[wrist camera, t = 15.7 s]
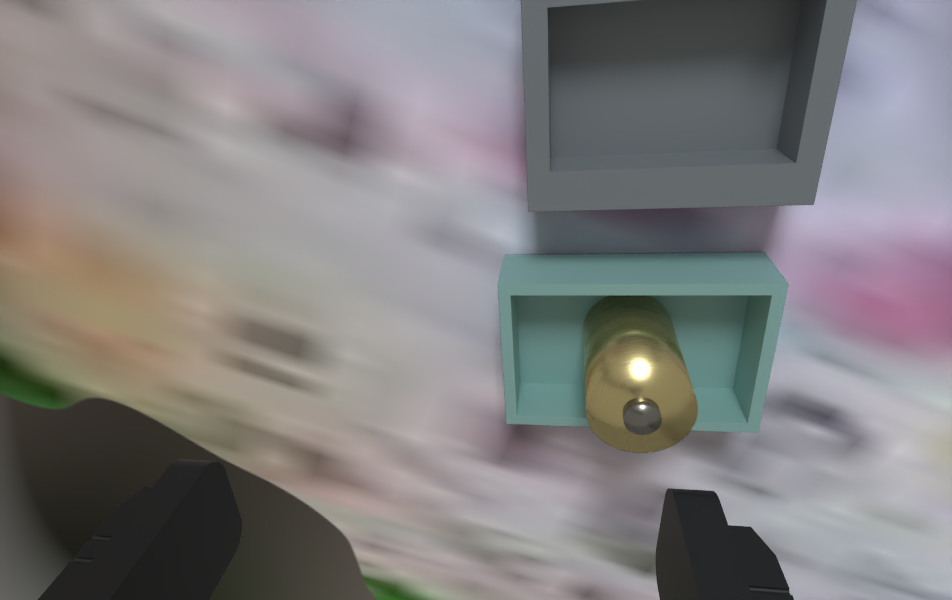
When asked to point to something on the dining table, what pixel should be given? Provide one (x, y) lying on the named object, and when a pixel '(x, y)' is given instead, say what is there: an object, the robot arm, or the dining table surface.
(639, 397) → the brass cell
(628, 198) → the block
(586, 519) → the dining table surface
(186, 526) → the robot arm
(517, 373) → the trough
